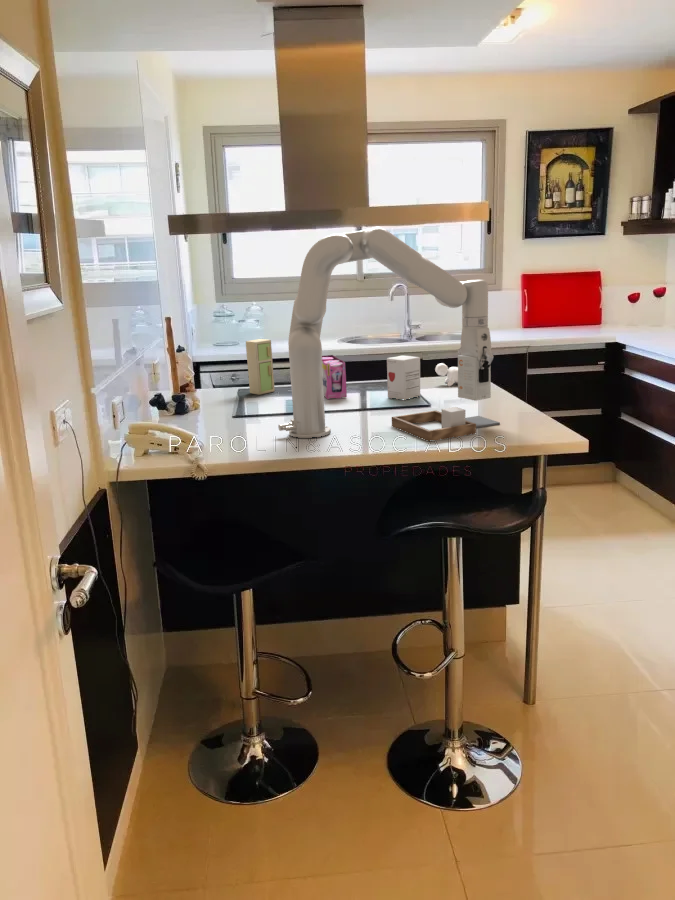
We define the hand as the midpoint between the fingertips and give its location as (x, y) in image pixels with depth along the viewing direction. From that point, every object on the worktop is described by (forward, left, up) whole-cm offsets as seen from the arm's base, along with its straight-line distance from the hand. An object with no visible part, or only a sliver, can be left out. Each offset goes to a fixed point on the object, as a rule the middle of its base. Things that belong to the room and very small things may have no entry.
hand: (474, 379), depth 213 cm
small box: (0, 0, -6) cm, 6 cm away
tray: (-15, 0, -14) cm, 20 cm away
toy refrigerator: (-39, +91, -14) cm, 100 cm away
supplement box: (+2, +48, -14) cm, 50 cm away
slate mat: (0, 0, -14) cm, 14 cm away
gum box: (-17, +73, -14) cm, 76 cm away
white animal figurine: (+31, +60, -14) cm, 69 cm away
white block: (-12, -6, -14) cm, 19 cm away
